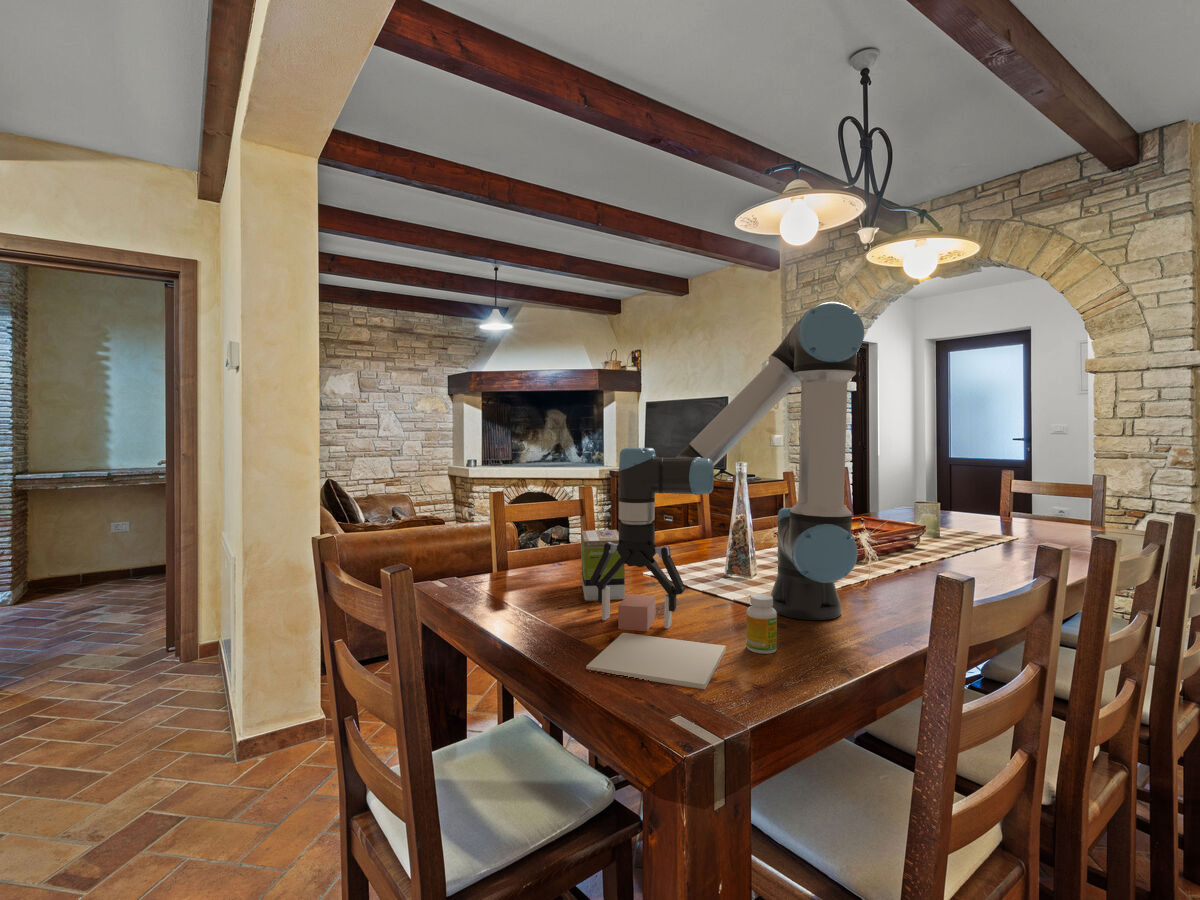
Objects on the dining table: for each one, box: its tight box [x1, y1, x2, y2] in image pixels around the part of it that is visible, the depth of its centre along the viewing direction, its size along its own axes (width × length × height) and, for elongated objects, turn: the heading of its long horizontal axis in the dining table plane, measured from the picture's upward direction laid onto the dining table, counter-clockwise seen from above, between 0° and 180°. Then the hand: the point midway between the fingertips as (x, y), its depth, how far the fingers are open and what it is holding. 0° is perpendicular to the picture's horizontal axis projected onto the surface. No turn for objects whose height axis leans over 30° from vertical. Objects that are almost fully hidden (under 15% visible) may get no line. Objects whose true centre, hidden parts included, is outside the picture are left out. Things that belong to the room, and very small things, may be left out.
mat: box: [586, 632, 727, 690], centre depth 104 cm, size 20×18×1 cm
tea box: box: [580, 529, 626, 602], centre depth 149 cm, size 15×10×15 cm
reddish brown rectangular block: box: [617, 593, 657, 632], centre depth 124 cm, size 6×9×5 cm, turn 164°
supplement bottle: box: [746, 593, 778, 655], centre depth 109 cm, size 5×5×10 cm
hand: (636, 622), depth 124 cm, fingers open, 13 cm apart
